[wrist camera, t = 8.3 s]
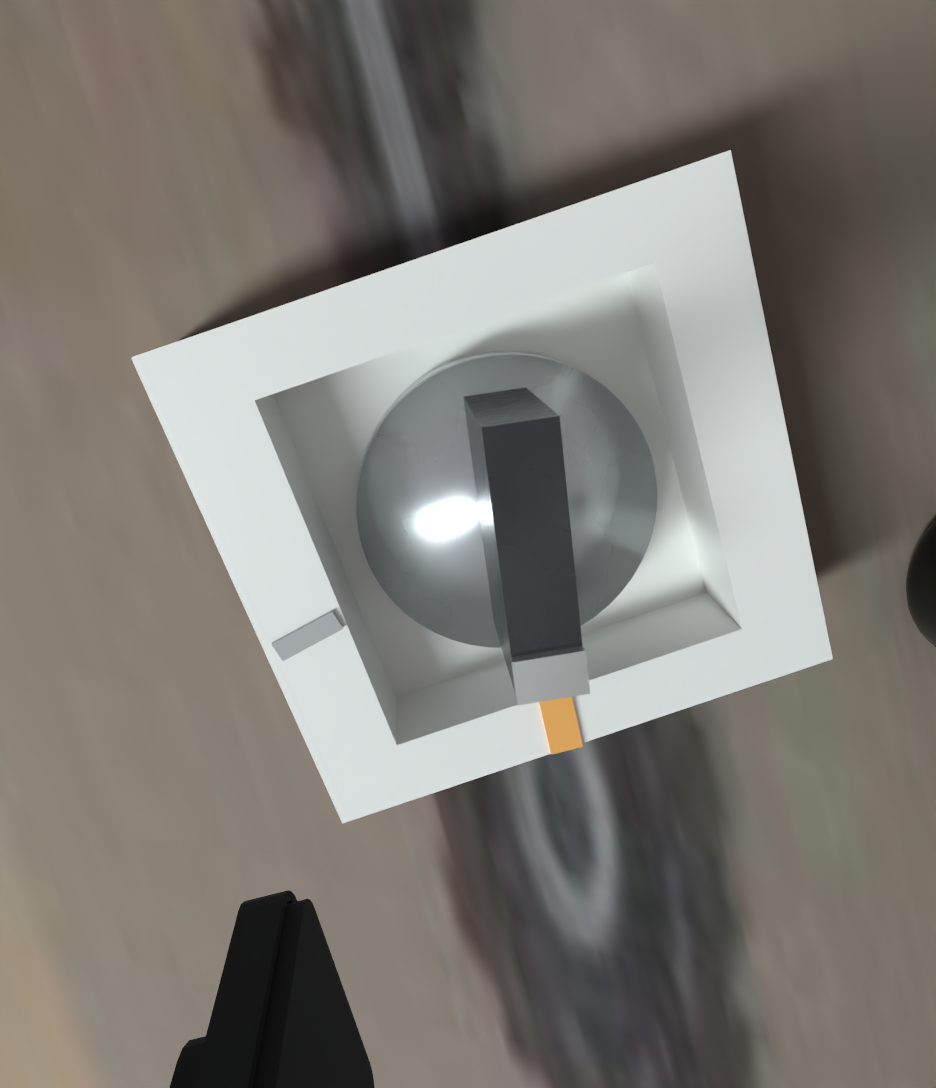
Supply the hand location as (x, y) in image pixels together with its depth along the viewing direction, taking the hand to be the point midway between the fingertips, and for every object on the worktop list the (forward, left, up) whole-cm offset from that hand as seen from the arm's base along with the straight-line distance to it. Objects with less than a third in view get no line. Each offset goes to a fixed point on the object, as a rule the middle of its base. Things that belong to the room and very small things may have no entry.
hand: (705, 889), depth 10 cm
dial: (0, 0, -17) cm, 17 cm away
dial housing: (0, 0, -19) cm, 19 cm away
